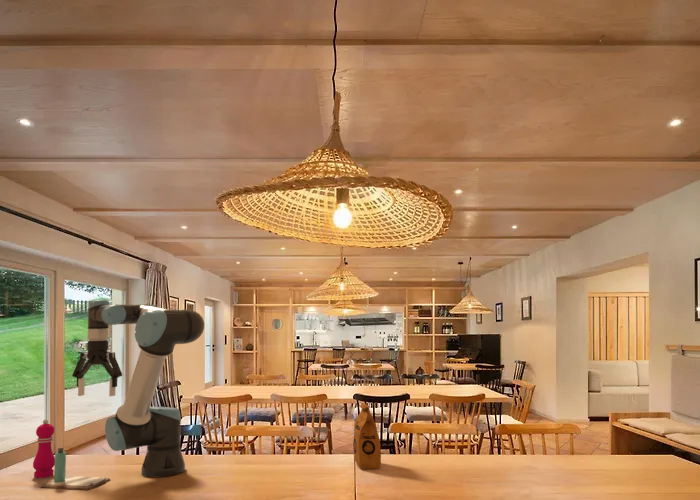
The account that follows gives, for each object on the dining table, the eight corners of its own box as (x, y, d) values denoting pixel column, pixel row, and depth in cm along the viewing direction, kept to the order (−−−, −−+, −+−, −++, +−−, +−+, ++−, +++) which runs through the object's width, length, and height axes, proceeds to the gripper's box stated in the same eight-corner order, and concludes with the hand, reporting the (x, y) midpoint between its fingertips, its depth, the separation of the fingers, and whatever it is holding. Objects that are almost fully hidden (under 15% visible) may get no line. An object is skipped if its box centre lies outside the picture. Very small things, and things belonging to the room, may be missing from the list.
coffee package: (355, 470, 213) (354, 408, 215) (352, 462, 225) (351, 403, 227) (383, 469, 214) (381, 407, 216) (378, 461, 226) (377, 402, 228)
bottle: (66, 479, 206) (67, 446, 207) (63, 482, 202) (64, 448, 203) (55, 480, 205) (56, 447, 206) (52, 482, 202) (53, 449, 203)
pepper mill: (45, 479, 210) (47, 421, 212) (27, 478, 212) (29, 421, 214) (59, 473, 217) (61, 417, 219) (42, 473, 219) (43, 417, 221)
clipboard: (110, 480, 207) (111, 476, 207) (88, 490, 195) (88, 486, 195) (65, 477, 211) (65, 474, 211) (40, 487, 200) (40, 483, 200)
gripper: (132, 339, 231) (131, 394, 229) (76, 339, 237) (74, 394, 234) (120, 340, 224) (119, 397, 222) (63, 340, 229) (61, 396, 227)
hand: (96, 395), depth 228 cm, fingers open, 13 cm apart
